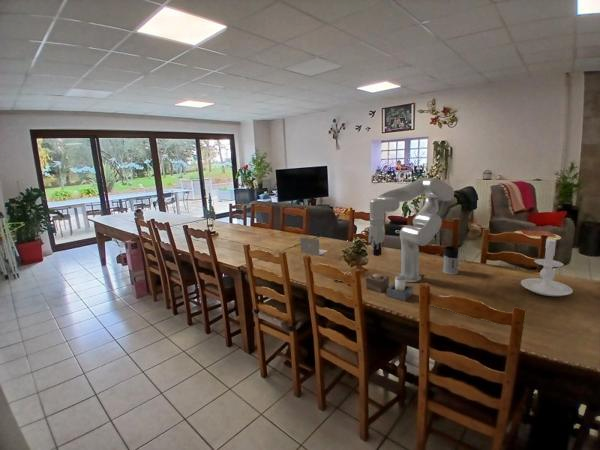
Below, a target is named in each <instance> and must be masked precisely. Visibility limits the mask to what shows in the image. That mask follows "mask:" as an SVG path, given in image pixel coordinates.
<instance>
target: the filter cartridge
mask: <svg viewBox="0 0 600 450" xmlns="http://www.w3.org/2000/svg"><path fill="white" fill-rule="evenodd" d="M394 283H395V290H398V291H402V292H404V291H405V285H406V282H405V277H404V276H401V275H399V274H397V275H395V277H394Z"/></svg>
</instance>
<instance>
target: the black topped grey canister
mask: <svg viewBox="0 0 600 450" xmlns="http://www.w3.org/2000/svg"><path fill="white" fill-rule="evenodd" d="M443 251H444V253H443V266H442V267H443V269H442V272H443V273H444V274H448V275H457V274H459V269H460V268H461V267H463V265H464V263H465V261H466V260H465V255H464V253H459V247H457V246H452V245H451V246H449V245H448V246H445V247H444V250H443ZM460 255H462V257H463V258H462V263H461V265H459V257H460Z"/></svg>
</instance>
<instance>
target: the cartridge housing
mask: <svg viewBox="0 0 600 450" xmlns="http://www.w3.org/2000/svg"><path fill="white" fill-rule="evenodd" d="M413 295H414V286H411V285H406V284H405V291H404V292H402V291H398V290H395V282H394V283H392V284H391V285H389V287H388V288H386V297H387V298H392V299H395V300H399V301H403V302H406V301H407V300H408V299H410V298H411V296H413Z"/></svg>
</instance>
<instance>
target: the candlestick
mask: <svg viewBox="0 0 600 450" xmlns="http://www.w3.org/2000/svg"><path fill="white" fill-rule="evenodd" d="M545 240H546V241H545V247H544V248H545V255H544V258H537V259H534V260H533V261H534V263H536V264H537V265H540V266H543V268H542V269H541V270H540V272H539V275H540V278H537V277H533V278H525V279H522V280H521V281H520V285H521V286H522V287H523V288H526V289H527V290H529V291H530V292H533V293H535V294H537V295H542V296H546V297H547V296H548V297H563V296H567V295H572V293H574V291H573V288H572V287H571V286H569V285H567V284H565V283H563V282H559V281H556V280H555V276H556V269H557V268H561V267H563V266H564V265H565V264H564V263H562V262H561V261H558V260H554V256H555V253H556V244H557V240H555V239H553V238H552V239H551V238H546V239H545Z"/></svg>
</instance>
